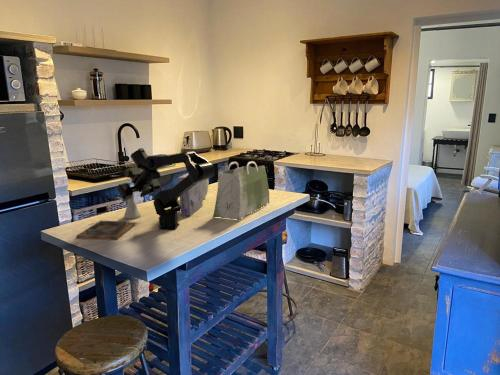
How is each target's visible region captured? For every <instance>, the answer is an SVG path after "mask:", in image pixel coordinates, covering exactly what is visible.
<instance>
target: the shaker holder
mask: <svg viewBox="0 0 500 375" xmlns="http://www.w3.org/2000/svg"><path fill="white" fill-rule="evenodd" d="M135 226H136V222H127V221H125V220H123V221H122V220H121V221H119V220H100V221H98V222H97V221H96V223H94V224H93V225H91V226H89V227H88V228H87V229H85V230H83V231H81V232H79V233H78V234H76V239H86V238H87V239H92V240H118V239H120V238H122V236H124V235H125V234H126V233H127V232H128V231H131V229H133V228H134V227H135Z"/></svg>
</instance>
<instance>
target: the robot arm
mask: <svg viewBox="0 0 500 375" xmlns="http://www.w3.org/2000/svg"><path fill="white" fill-rule="evenodd" d="M130 159H131V160H132V161H133V163H134V164H135V167H130V168H127V169H125V171H124V176H125V177H126V178H128V179H129V178H130V180H131V184H133V186H130V184H129V183H128V182H123V183H120V184H118V185H117V186H116V190H117V191H118V193H119V195H120V196H121V200H122V202H123V203H125V202H126V201H127V202H128V199H130V198H132V196H133V195H134V193H137V192H139V193H140V194H139V195H140V196H139V197H140V198H144V197H146V196H148V195H151V194H153V193H156V192H158V193H157V194H154V196H155V197H154V198H153V201H152V202H153V203H152V204H153V208H154V209H155V214H156V215H158V225H159V230H169V231H171V230H172V231H174V230H176V229H177V228H178V227H179V226H180V223H179V221H178V220H179V219H178V218H179V217H178V212H181V206H180V202H179V201H178V199H180V196H181V195H183V194H184V193H185V192H187V191H188V190H189V189H190V188H192V187H193V186H194V185H196V184H197V183H198V182H201V181H204V180H206V179H208V180H209V179H212V178H213V177H214V176H215V174H216V173H215V167H214V164H212V162H210V161H208V160H207V158H204V157H202V156H201V155H199V154H197V152H195V151H193V150H187V151H182V152H178V153H174V154H167V153H166V154H163V153H161V154H154V155H148V154H147V153H146V151H145V149H144V148H143V147H141V148H138V149H137V150H135V151H134V152H132V153H131V154H130ZM193 163H194V164H193ZM176 164H177V165H178V164H184V165H185V168H186V171H187V173H188V176H187V177H185V178H184V179H183V180H182V181H180V182H179V183H176V184H175V185H174V186H173V187H171V188H167V189H162V190H161V187H162V186H161V184H160V182H159V181H158V179H161V178H162V176H161V173H160V171H159V170H161V169H165V168H167V167H169V166H170V165H176ZM141 169H142V170H141Z"/></svg>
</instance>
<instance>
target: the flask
mask: <svg viewBox="0 0 500 375" xmlns="http://www.w3.org/2000/svg"><path fill="white" fill-rule="evenodd" d="M141 216H142V213H141V212H140V210H139V208H138V205H137V204H136V201H135V194H133V196H132V198H130V199H128V200H127V204H126V208H125V212H124V215H123V219H126V220H127V219H128V220H131V219H132V220H133V219H137V218H140V217H141Z"/></svg>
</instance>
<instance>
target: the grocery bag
mask: <svg viewBox="0 0 500 375" xmlns="http://www.w3.org/2000/svg"><path fill="white" fill-rule="evenodd" d="M234 164H235V165H236V166H237V167H236V168H234V169H230V168H231V167H232V165H234ZM250 164H254V165H255V166H254V167H253V166H249V165H250ZM217 178H218V180H217V181H218V182H217V191H216V197H215V205H214V211H213V216H212V218H213V217H221V218H230V219H237V220H240V219H241V218H242V217H243V218H245V217H246V216H245V215H247V214H249V213H251V212H253V211H255V210H257V209H259V208H261V207H263V206H265V205H266V204H267V203H269V204H270V188H269V183H268V182H269V181H268V175H267V172H266V168H265V165H259V166H258V165H257V163H256V162H255V160H254V161H253V160H252V161H248V162H247V164H246V165H245V166H241V167H239V162H237V161H232V162H230V163H229V165H228V167H227V169H226V170H223V171H220V172H218V177H217ZM267 205H268V204H267ZM267 205H266V206H267ZM266 206H265V207H266ZM263 208H264V207H263ZM261 209H262V208H261ZM259 210H260V209H259ZM257 211H258V210H257ZM255 212H256V211H255ZM253 213H254V212H253ZM251 214H252V213H251ZM249 215H250V214H249ZM244 216H245V217H244ZM247 216H248V215H247ZM221 218H220V219H221ZM243 218H242V219H243ZM242 219H241V220H242ZM241 220H240V221H241Z"/></svg>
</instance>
